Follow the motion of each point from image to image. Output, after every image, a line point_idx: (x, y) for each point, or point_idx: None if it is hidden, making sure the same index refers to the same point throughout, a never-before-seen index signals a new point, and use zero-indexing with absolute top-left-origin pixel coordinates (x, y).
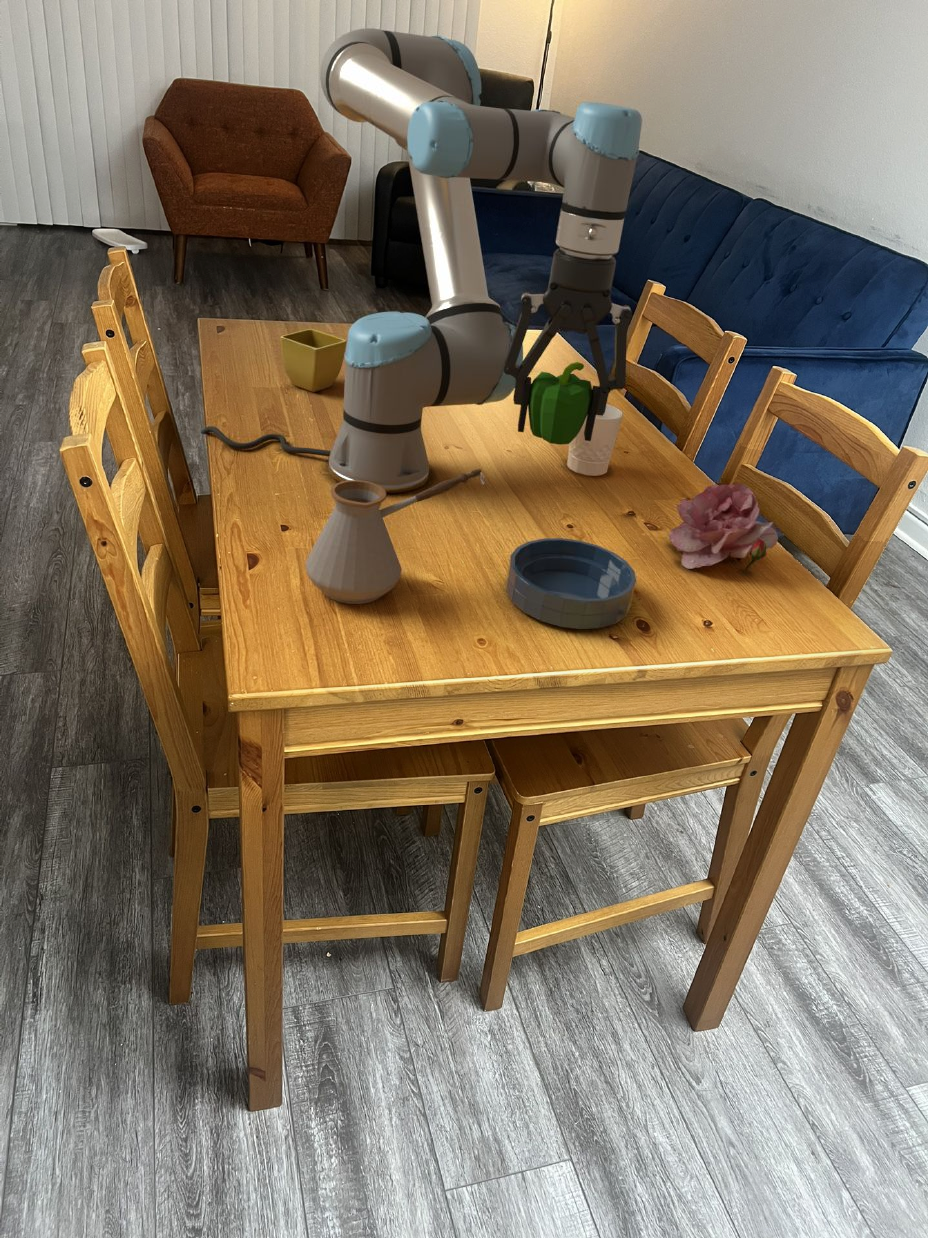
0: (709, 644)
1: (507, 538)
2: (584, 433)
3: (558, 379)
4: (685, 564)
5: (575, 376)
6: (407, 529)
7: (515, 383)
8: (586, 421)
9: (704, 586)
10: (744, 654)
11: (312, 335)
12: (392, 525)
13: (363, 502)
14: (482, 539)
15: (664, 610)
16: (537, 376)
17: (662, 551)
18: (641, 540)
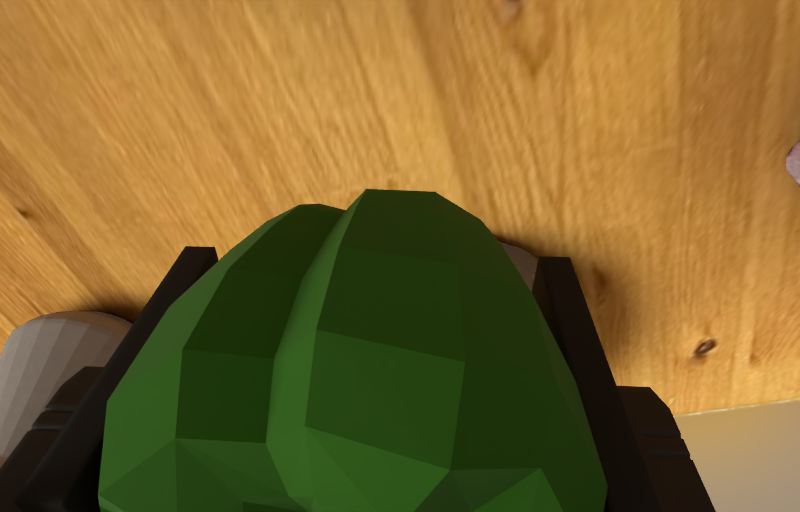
0: (674, 391)
1: (329, 119)
2: (534, 287)
3: (296, 505)
4: (793, 167)
5: (465, 484)
6: (86, 134)
7: (2, 471)
8: (548, 319)
9: (785, 236)
10: (721, 403)
11: None
12: (44, 123)
13: (8, 452)
14: (269, 140)
15: (638, 325)
16: (105, 505)
17: (773, 85)
18: (738, 26)
